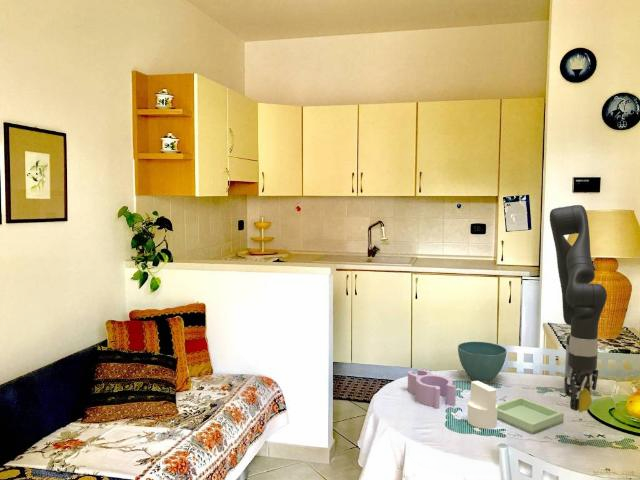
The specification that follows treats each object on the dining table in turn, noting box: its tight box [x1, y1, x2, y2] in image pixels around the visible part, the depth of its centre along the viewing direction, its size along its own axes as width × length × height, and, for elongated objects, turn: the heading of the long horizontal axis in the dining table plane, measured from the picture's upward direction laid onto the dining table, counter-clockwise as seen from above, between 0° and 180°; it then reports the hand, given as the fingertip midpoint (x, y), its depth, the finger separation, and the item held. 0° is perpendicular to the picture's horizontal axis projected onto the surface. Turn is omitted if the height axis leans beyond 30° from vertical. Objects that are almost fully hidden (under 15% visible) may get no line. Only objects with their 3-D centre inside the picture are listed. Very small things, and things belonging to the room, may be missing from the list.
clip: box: [407, 368, 457, 410], centre depth 193 cm, size 20×12×7 cm, turn 24°
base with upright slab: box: [467, 380, 498, 430], centre depth 172 cm, size 9×9×12 cm
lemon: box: [575, 387, 593, 413], centre depth 158 cm, size 6×6×8 cm
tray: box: [496, 396, 564, 435], centre depth 175 cm, size 16×16×3 cm
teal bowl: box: [457, 341, 508, 383], centre depth 212 cm, size 18×18×12 cm
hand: (580, 407), depth 159 cm, fingers closed on lemon, 5 cm apart
